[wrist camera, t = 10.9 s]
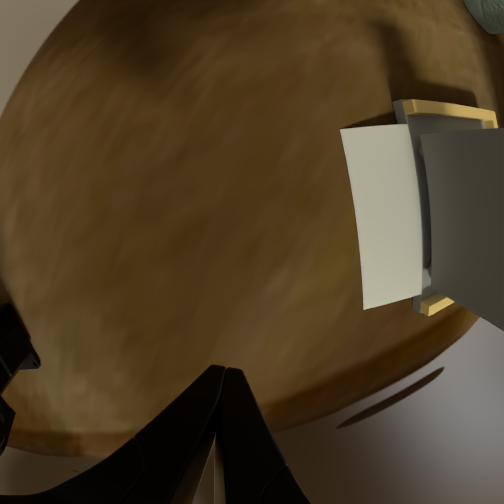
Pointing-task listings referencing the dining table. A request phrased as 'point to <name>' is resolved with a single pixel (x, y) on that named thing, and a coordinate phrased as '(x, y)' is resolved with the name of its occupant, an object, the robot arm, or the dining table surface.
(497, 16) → the green embossed cup
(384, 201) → the loading dock
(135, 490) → the robot arm
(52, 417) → the dining table surface
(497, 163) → the gray and cream l-shape
